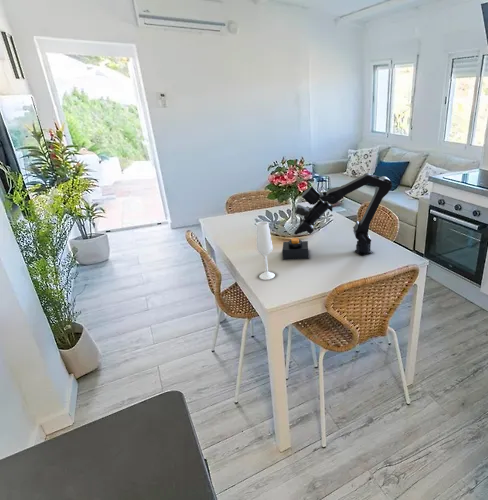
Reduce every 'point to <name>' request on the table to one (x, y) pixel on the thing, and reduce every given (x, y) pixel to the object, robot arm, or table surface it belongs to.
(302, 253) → the switch box
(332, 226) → the table surface
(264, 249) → the champagne flute
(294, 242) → the switch button
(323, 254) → the table surface
